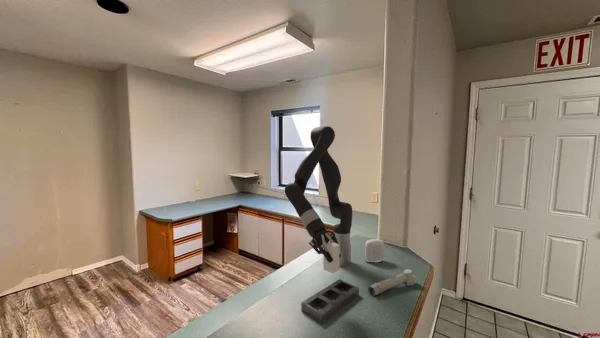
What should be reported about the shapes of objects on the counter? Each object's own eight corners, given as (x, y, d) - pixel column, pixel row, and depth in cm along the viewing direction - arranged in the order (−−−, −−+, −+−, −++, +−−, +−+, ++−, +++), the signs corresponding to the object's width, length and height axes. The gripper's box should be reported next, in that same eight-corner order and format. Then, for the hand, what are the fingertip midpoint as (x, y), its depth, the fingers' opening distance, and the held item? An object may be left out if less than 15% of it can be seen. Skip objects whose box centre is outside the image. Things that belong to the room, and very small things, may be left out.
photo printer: (381, 259, 133) (381, 237, 132) (384, 262, 128) (385, 240, 128) (363, 260, 131) (364, 238, 131) (367, 263, 127) (367, 241, 126)
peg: (330, 265, 96) (330, 241, 95) (339, 269, 93) (339, 244, 92) (323, 269, 93) (323, 244, 92) (332, 273, 90) (332, 247, 89)
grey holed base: (339, 285, 105) (339, 279, 105) (358, 295, 98) (358, 288, 98) (301, 310, 88) (301, 302, 88) (321, 323, 81) (321, 315, 81)
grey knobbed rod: (366, 283, 100) (407, 264, 110) (367, 298, 101) (408, 277, 111) (374, 289, 95) (417, 269, 106) (376, 305, 96) (418, 283, 106)
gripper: (305, 221, 92) (329, 260, 84) (328, 214, 102) (351, 249, 94) (296, 231, 96) (318, 270, 88) (318, 224, 106) (340, 258, 98)
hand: (335, 259), depth 91 cm, fingers closed on peg, 4 cm apart
